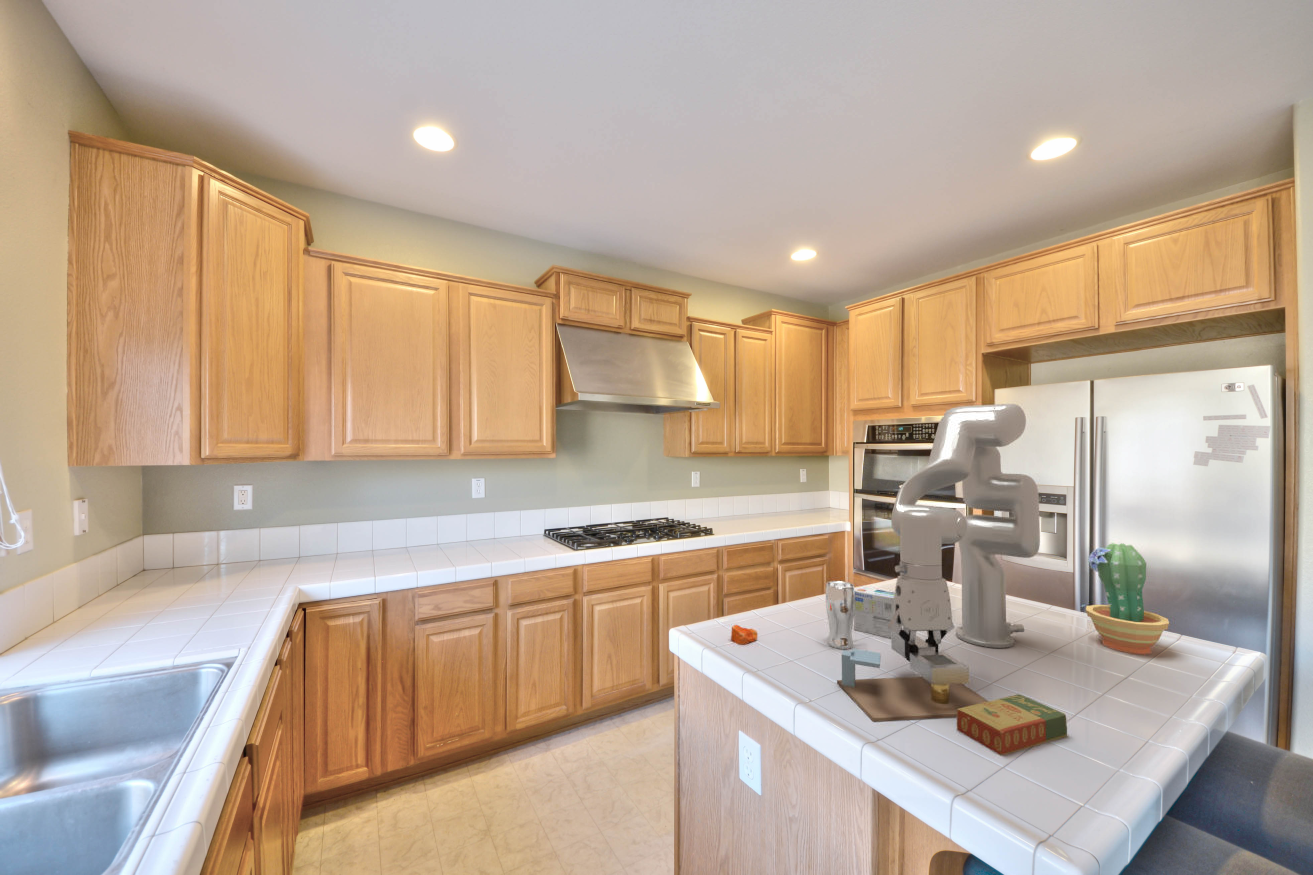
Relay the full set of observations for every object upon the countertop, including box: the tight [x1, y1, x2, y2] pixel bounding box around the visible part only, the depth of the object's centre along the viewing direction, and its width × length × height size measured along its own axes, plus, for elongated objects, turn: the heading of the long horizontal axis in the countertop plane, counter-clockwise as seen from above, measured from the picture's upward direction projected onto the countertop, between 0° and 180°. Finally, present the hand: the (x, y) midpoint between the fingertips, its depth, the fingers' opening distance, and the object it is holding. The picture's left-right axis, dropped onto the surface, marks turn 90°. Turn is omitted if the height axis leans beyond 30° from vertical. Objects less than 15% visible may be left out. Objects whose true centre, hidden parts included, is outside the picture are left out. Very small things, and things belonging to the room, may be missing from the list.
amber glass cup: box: [931, 684, 949, 704], centre depth 98 cm, size 3×3×4 cm
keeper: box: [841, 648, 882, 687], centre depth 104 cm, size 7×6×7 cm
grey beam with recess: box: [890, 630, 970, 685], centre depth 104 cm, size 17×7×4 cm, turn 5°
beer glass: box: [825, 580, 855, 650], centre depth 128 cm, size 7×7×15 cm
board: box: [836, 676, 989, 723], centre depth 101 cm, size 25×15×1 cm, turn 95°
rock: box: [730, 624, 759, 646], centre depth 131 cm, size 12×12×4 cm
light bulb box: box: [853, 585, 903, 639], centre depth 137 cm, size 11×7×11 cm, turn 48°
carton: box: [956, 693, 1068, 756], centre depth 88 cm, size 8×16×4 cm, turn 110°
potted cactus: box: [1085, 542, 1170, 655], centre depth 126 cm, size 15×15×25 cm
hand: (921, 661), depth 104 cm, fingers closed on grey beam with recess, 3 cm apart
